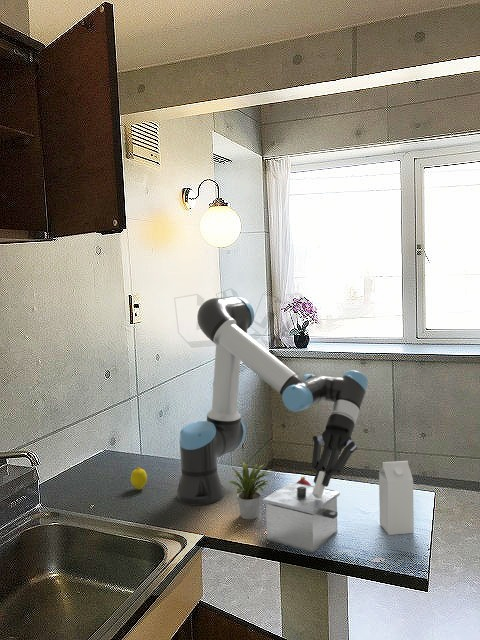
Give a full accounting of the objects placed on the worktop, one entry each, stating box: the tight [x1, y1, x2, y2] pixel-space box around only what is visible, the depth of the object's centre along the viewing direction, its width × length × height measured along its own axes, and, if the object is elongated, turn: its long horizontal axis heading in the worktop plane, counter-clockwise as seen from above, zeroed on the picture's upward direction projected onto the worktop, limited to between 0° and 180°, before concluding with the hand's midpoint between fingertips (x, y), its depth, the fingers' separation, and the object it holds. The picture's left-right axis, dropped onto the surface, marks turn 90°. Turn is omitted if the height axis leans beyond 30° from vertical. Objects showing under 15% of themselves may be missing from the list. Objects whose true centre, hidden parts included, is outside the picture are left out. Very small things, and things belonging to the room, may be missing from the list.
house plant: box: [228, 461, 275, 520], centre depth 165 cm, size 14×14×16 cm
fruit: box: [130, 466, 148, 491], centre depth 191 cm, size 6×6×8 cm
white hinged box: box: [265, 497, 339, 554], centre depth 152 cm, size 20×14×10 cm
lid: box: [262, 481, 340, 514], centre depth 152 cm, size 15×16×3 cm
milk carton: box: [378, 460, 415, 536], centre depth 154 cm, size 7×7×19 cm
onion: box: [296, 476, 312, 486], centre depth 175 cm, size 6×6×8 cm
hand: (316, 496), depth 148 cm, fingers closed
